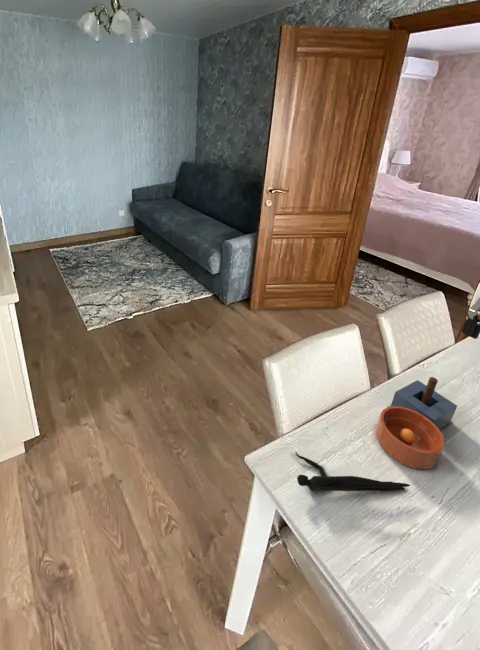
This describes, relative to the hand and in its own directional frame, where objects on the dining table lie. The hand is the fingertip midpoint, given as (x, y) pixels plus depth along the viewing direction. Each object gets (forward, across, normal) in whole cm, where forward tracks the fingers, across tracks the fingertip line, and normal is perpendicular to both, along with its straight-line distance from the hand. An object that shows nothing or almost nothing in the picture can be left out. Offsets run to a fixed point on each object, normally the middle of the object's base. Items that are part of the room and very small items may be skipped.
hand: (479, 330), depth 86 cm
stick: (+28, -7, +3) cm, 29 cm away
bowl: (+28, -20, -1) cm, 35 cm away
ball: (+26, -19, 0) cm, 32 cm away
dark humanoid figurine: (+29, -41, 0) cm, 50 cm away
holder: (+28, -7, +3) cm, 29 cm away
